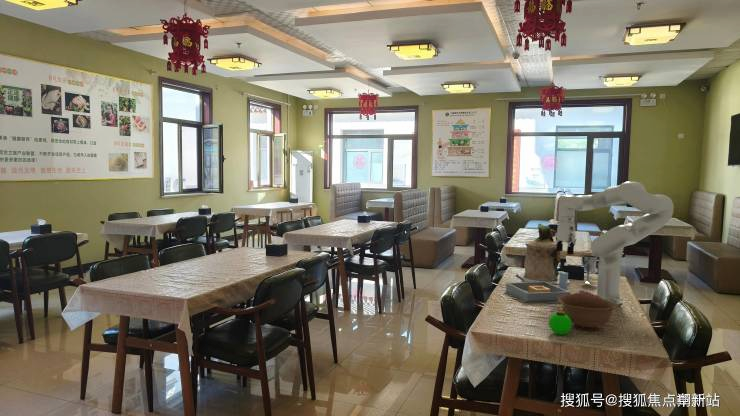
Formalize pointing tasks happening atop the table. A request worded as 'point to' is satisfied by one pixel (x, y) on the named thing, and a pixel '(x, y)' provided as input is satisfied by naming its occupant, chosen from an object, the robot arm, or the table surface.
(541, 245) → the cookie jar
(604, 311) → the bowl
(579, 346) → the table surface
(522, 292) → the walled box
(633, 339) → the table surface
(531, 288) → the frame
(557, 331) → the ornament
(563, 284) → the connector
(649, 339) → the table surface
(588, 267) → the wine glass
